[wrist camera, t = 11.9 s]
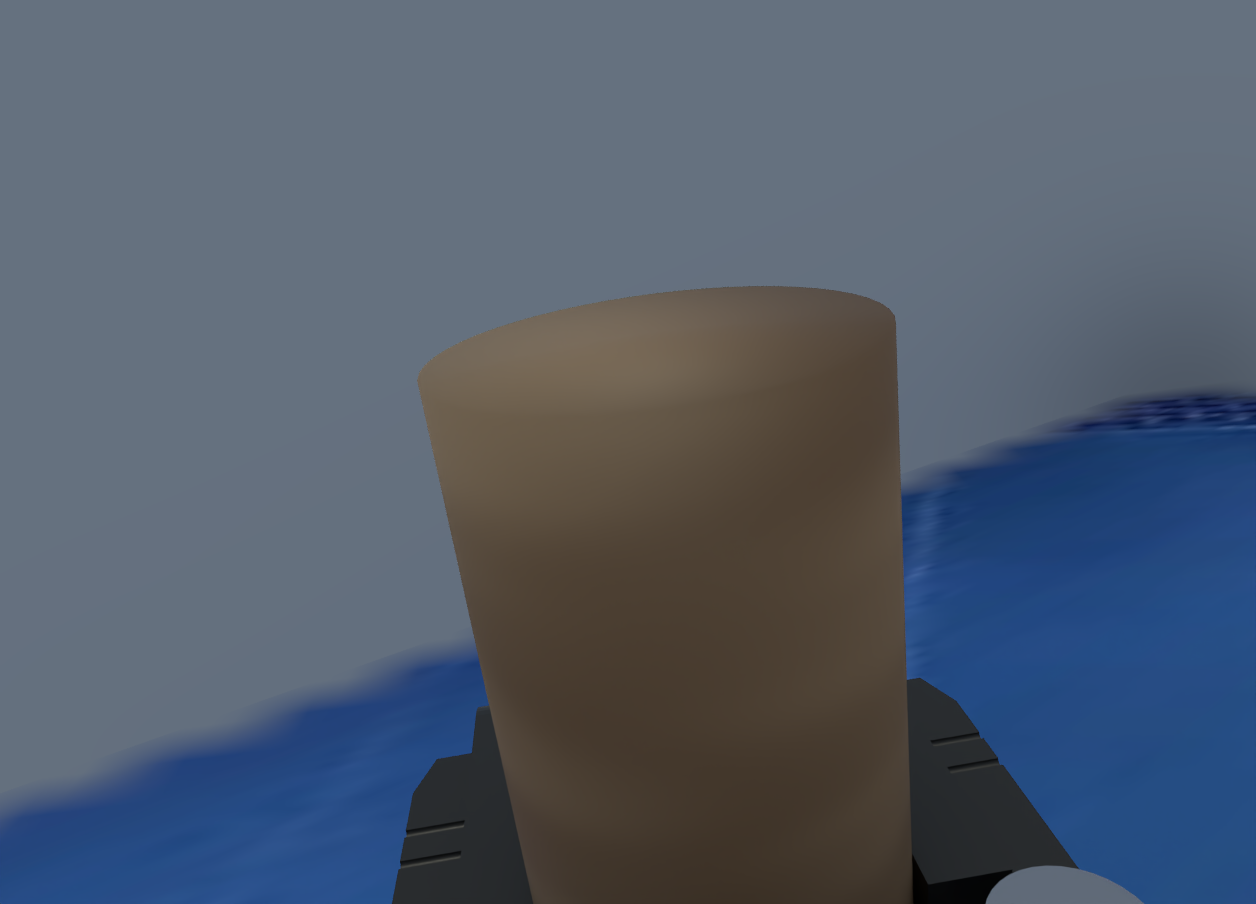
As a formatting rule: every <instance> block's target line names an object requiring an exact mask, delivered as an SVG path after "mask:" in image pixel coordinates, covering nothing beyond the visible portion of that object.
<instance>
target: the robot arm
mask: <svg viewBox="0 0 1256 904" xmlns="http://www.w3.org/2000/svg"><path fill="white" fill-rule="evenodd" d="M907 710H908V743H909V776H910V809H911V841H912V874H913V904H1144V903H1142V902H1141V901H1140V900H1139V899H1138V898H1137V897H1136V896H1134V895H1133V894H1131V893H1130V892H1128V891H1127V890H1126V889H1124V888H1123V887H1121V886H1119V885H1117V884H1115V883H1114V882H1112V881H1110V880H1108V879H1106V878H1103V877H1101V876H1098V875H1096V874H1093V873H1090V872H1087V871H1083V870H1080V869H1079V868H1078V867H1077V866H1076V864H1075V863H1074V862H1073V860H1072V859H1071V857H1070V856H1069V855H1068V853H1067V852H1066V851H1065V849H1064V848H1063V846H1062V845H1061V844H1060V842H1059V841H1058V840H1057V838H1056V837H1055V836H1054V834H1053V833H1052V831H1051V830H1050V829H1049V827H1048V826H1047V825H1046V823H1045V822H1044V820H1043V819H1042V818H1041V816H1040V815H1039V814H1038V812H1037V811H1036V809H1035V808H1034V807H1033V805H1032V804H1031V803H1030V801H1029V800H1028V799H1027V797H1026V796H1025V794H1024V793H1023V792H1022V790H1021V789H1020V788H1019V786H1018V785H1017V783H1016V782H1015V781H1014V779H1013V778H1012V777H1011V775H1010V774H1009V772H1008V771H1007V770H1006V768H1005V767H1004V766H1003V765H1000V764H999V761H998V757H997V756H996V755H995V753H994V752H993V751H992V749H991V748H990V746H989V745H988V744H987V742H986V741H985V740H984V738H982V739H981V738H980V735H979V731H978V730H977V729H976V727H975V726H974V725H973V723H972V722H971V720H970V719H969V718H968V716H967V715H966V714H965V712H964V711H963V709H962V708H961V707H960V705H959V704H958V703H957V701H955V700H954V699H952V698H951V697H949V696H948V695H946V694H944V693H943V692H941V691H940V690H938V689H937V688H935V687H934V686H932V685H930V684H929V683H927V682H926V681H924V680H923V679H921V678H916V679H910V680H907ZM406 833H407V837H406V838H404V844H403V849H402V854H401V859H400V863H401V869H399V870H398V875H397V880H396V886H395V891H394V896H393V901H392V904H533V900H532V896H531V891H530V887H529V882H528V878H527V873H526V869H525V864H524V860H523V855H522V851H521V846H520V841H519V837H518V832H517V828H516V823H515V819H514V814H513V810H512V805H511V801H510V796H509V792H508V787H507V783H506V778H505V774H504V769H503V765H502V760H501V756H500V751H499V747H498V742H497V738H496V733H495V729H494V724H493V720H492V715H491V711H490V706H484V707H478V709H477V712H476V720H475V730H474V739H473V748H472V753H470V754H464V755H459V756H453V757H447V758H441V759H437V760H436V761H435V763H434V764H433V766H432V767H431V769H430V770H429V771H428V773H427V774H426V776H425V777H424V779H423V780H422V781H421V783H420V784H419V786H418V787H417V789H416V790H415V791H414V793H413V796H412V802H411V807H410V812H409V817H408V823H407V828H406Z"/></svg>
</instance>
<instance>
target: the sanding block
mask: <svg viewBox="0 0 1256 904" xmlns="http://www.w3.org/2000/svg"><path fill="white" fill-rule="evenodd" d="M417 381H418V386H419V390H420V395H421V399H422V404H423V409H424V413H425V417H426V422H427V427H428V431H429V436H430V440H431V445H432V449H433V454H434V458H435V462H436V467H437V471H438V476H439V481H440V485H441V490H442V494H443V498H444V503H445V508H446V512H447V517H448V521H449V525H450V530H451V535H452V539H453V544H454V548H455V552H456V557H457V562H458V566H459V571H460V575H461V580H462V584H463V588H464V593H465V598H466V602H467V607H468V611H469V616H470V620H471V625H472V630H473V634H474V639H475V643H476V648H477V652H478V657H479V661H480V666H481V670H482V675H483V679H484V684H485V688H486V693H487V697H488V702H489V706H490V711H491V715H492V720H493V724H494V729H495V733H496V738H497V742H498V747H499V751H500V756H501V760H502V765H503V769H504V774H505V778H506V783H507V787H508V792H509V796H510V801H511V805H512V810H513V814H514V819H515V823H516V828H517V832H518V837H519V841H520V846H521V851H522V855H523V860H524V864H525V869H526V873H527V878H528V882H529V887H530V891H531V896H532V900H533V904H913V874H912V841H911V809H910V776H909V743H908V710H907V677H906V644H905V611H904V578H903V545H902V512H901V480H900V447H899V414H898V382H897V348H896V322H895V316H894V314H893V313H892V312H891V310H890V309H889V308H887V307H886V306H884V305H883V304H881V303H879V302H877V301H874V300H872V299H870V298H867V297H863V296H859V295H856V294H851V293H846V292H840V291H834V290H826V289H817V288H803V287H782V286H780V287H779V286H748V287H723V288H706V289H696V290H695V289H694V290H683V291H673V292H665V293H656V294H648V295H642V296H634V297H627V298H621V299H615V300H608V301H604V302H598V303H592V304H587V305H582V306H577V307H572V308H568V309H563V310H559V311H555V312H551V313H547V314H542V315H538V316H535V317H531V318H527V319H524V320H520V321H517V322H514V323H511V324H507V325H504V326H501V327H498V328H495V329H492V330H489V331H487V332H484V333H481V334H479V335H476V336H474V337H471V338H469V339H467V340H464V341H462V342H460V343H458V344H456V345H454V346H452V347H450V348H448V349H446V350H445V351H443V352H442V353H440V354H438V355H437V356H435V357H434V358H433V359H432V360H430V361H429V362H428V363H427V364H426V365H425V366H424V367H423V368H422V370H421V371H420V373H419V376H418V380H417Z"/></svg>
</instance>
